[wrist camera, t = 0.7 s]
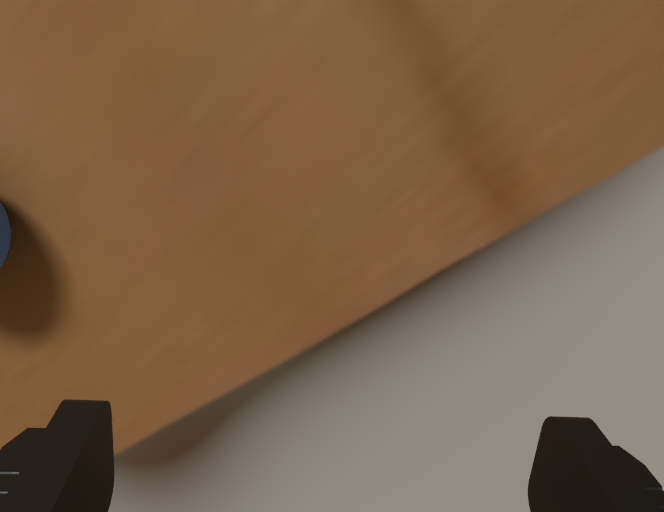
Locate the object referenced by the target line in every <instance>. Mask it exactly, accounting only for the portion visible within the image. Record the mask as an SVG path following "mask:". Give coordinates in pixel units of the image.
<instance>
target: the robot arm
mask: <svg viewBox="0 0 664 512" xmlns="http://www.w3.org/2000/svg"><path fill="white" fill-rule="evenodd" d="M113 486H114V453H113V432H112V413H111V406H110V403H109V401H97V400H66V399H65V400H63V401H62V402H61V404H60V405H59V407H58V409H57V410H56V412H55V414H54V415H53V417H52V419H51V420H50V422H49V424H48V425H47V427H46V428H27V429H26V430H24V431H23V432H22V433H20V434H19V435H18V436H16V437H15V438H14V439H12V440H11V441H10V442H8V443H7V444H6V445H4V446H3V447H2V448H1V450H0V512H108V509H109V506H110V503H111V498H112V493H113ZM528 500H529V507H530V511H531V512H664V491H662V486H661V485H660V483H659V482H658V481H657V480H656V478H655V477H654V476H653V475H652V474H651V472H650V471H649V470H648V468H647V467H646V466H645V465H644V464H643V463H641V462H640V461H639V460H637V459H636V458H635V457H633V456H632V455H631V454H629V453H628V452H627V451H625V450H623V448H621V447H620V446H612V445H611V443H610V442H609V441H608V439H607V438H606V437H605V435H604V434H603V433H602V432H601V430H600V429H599V428H598V426H597V425H596V424H595V423H594V422H593V420H591V419H590V418H581V417H580V418H579V417H548V418H546V419H545V421H544V423H543V426H542V429H541V433H540V437H539V442H538V445H537V450H536V454H535V458H534V462H533V466H532V470H531V475H530V479H529V484H528Z"/></svg>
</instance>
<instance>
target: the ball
mask: <svg viewBox="0 0 664 512" xmlns="http://www.w3.org/2000/svg"><path fill="white" fill-rule="evenodd" d="M10 242H11V229H10V223H9V218H8V215H7V213H6V210H5V209H4V207H3V205H2V203H1V202H0V268H1V266H2V264H3V263H4V261H5V259H6V257H7V254H8V252H9V247H10Z"/></svg>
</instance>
